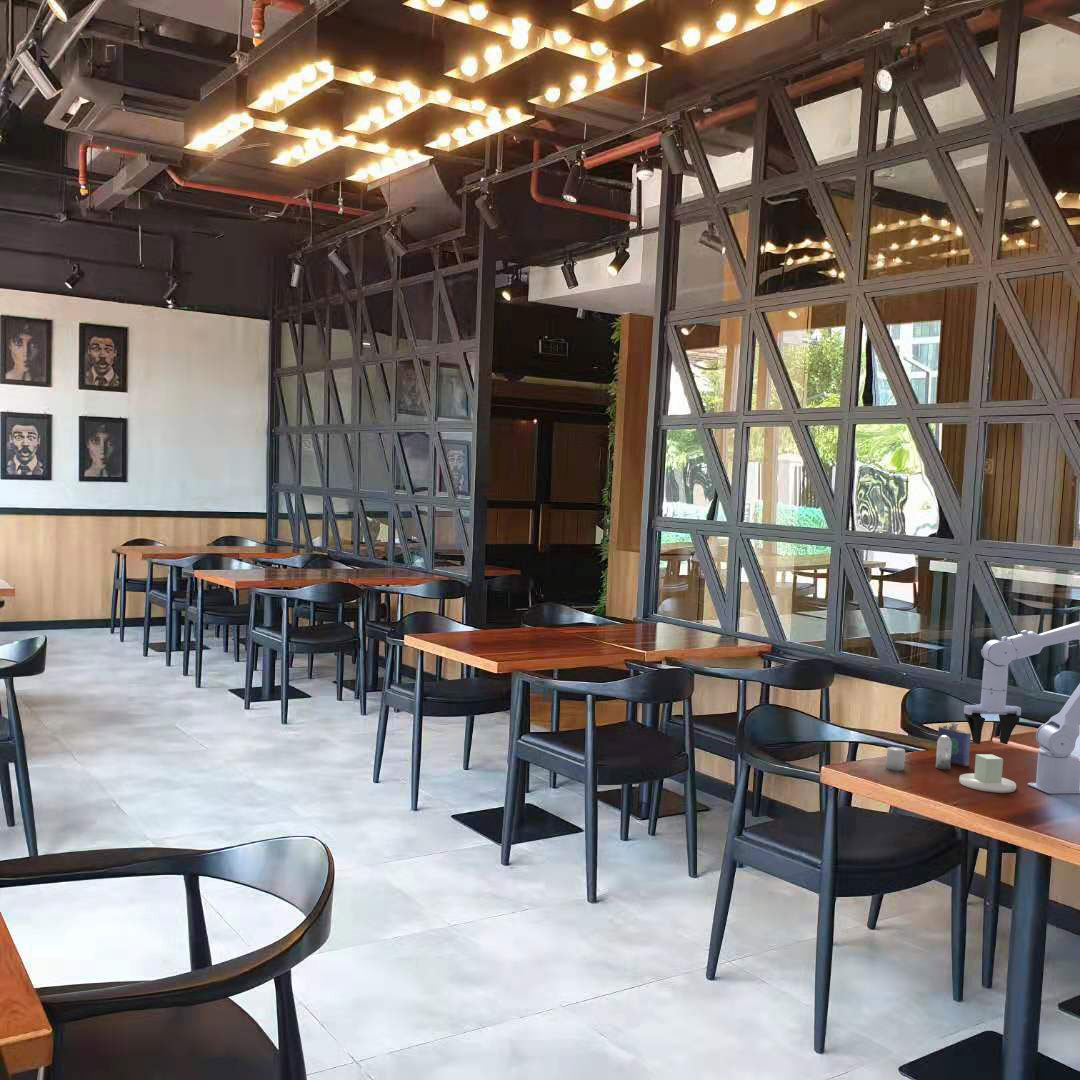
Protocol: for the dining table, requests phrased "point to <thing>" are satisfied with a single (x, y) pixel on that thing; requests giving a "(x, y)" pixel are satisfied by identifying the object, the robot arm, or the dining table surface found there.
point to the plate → (987, 784)
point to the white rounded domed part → (895, 758)
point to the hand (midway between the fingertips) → (990, 743)
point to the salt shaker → (943, 752)
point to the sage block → (988, 768)
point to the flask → (957, 744)
